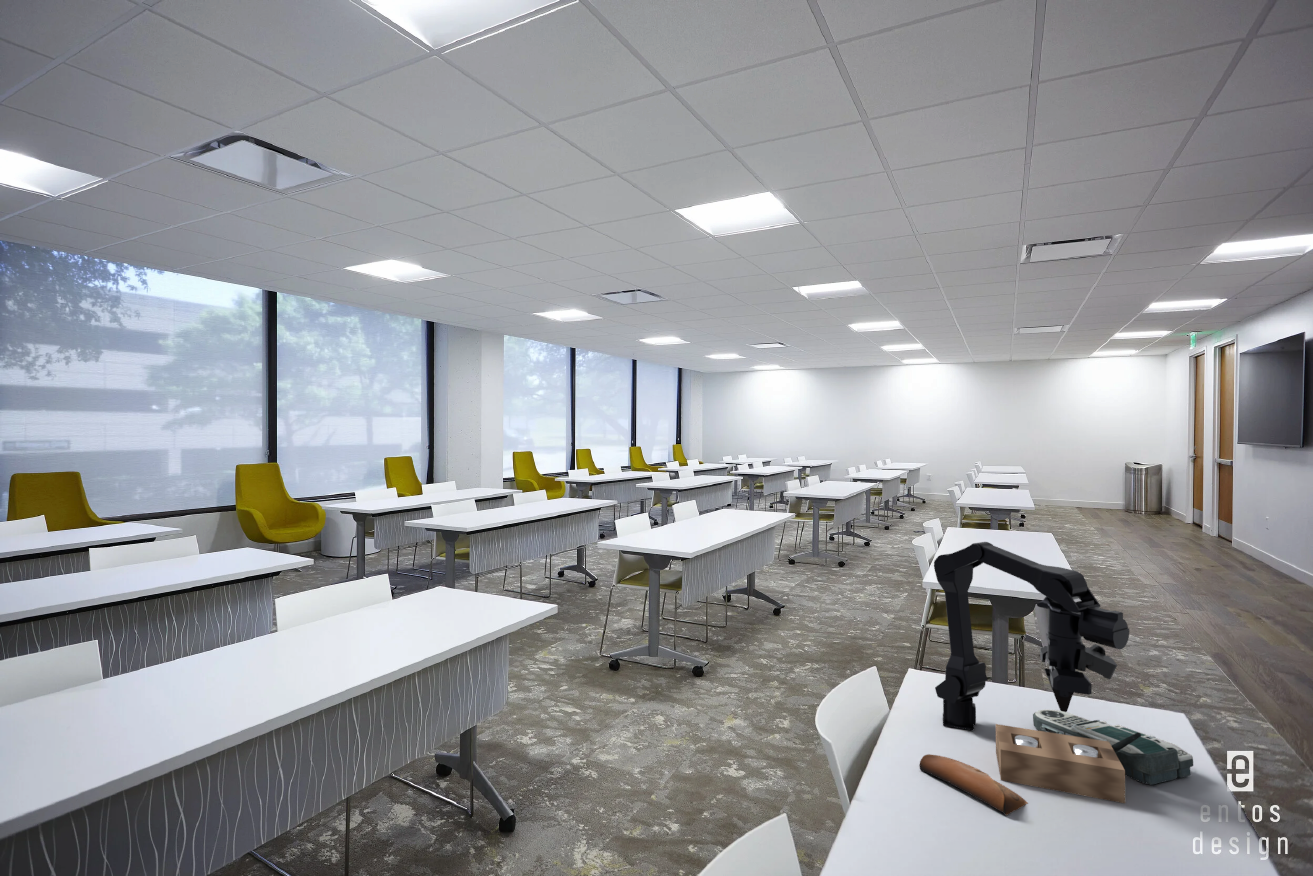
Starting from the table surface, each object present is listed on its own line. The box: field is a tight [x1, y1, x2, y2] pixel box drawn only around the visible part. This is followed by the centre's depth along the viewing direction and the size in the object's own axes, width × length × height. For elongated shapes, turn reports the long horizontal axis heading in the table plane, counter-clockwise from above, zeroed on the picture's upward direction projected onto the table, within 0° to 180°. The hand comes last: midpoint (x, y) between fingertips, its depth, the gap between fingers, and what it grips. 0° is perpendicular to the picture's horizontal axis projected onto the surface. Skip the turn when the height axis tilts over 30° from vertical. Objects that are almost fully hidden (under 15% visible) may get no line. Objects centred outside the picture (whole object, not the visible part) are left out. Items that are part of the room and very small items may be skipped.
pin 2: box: [1073, 745, 1098, 758], centre depth 123 cm, size 4×4×6 cm
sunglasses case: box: [918, 753, 1029, 816], centre depth 121 cm, size 18×7×7 cm
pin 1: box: [1015, 735, 1038, 748], centre depth 127 cm, size 4×4×6 cm
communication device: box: [1032, 708, 1194, 786], centre depth 135 cm, size 14×28×10 cm, turn 18°
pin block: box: [995, 723, 1126, 804], centre depth 125 cm, size 20×12×6 cm, turn 66°
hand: (1063, 711), depth 127 cm, fingers closed
